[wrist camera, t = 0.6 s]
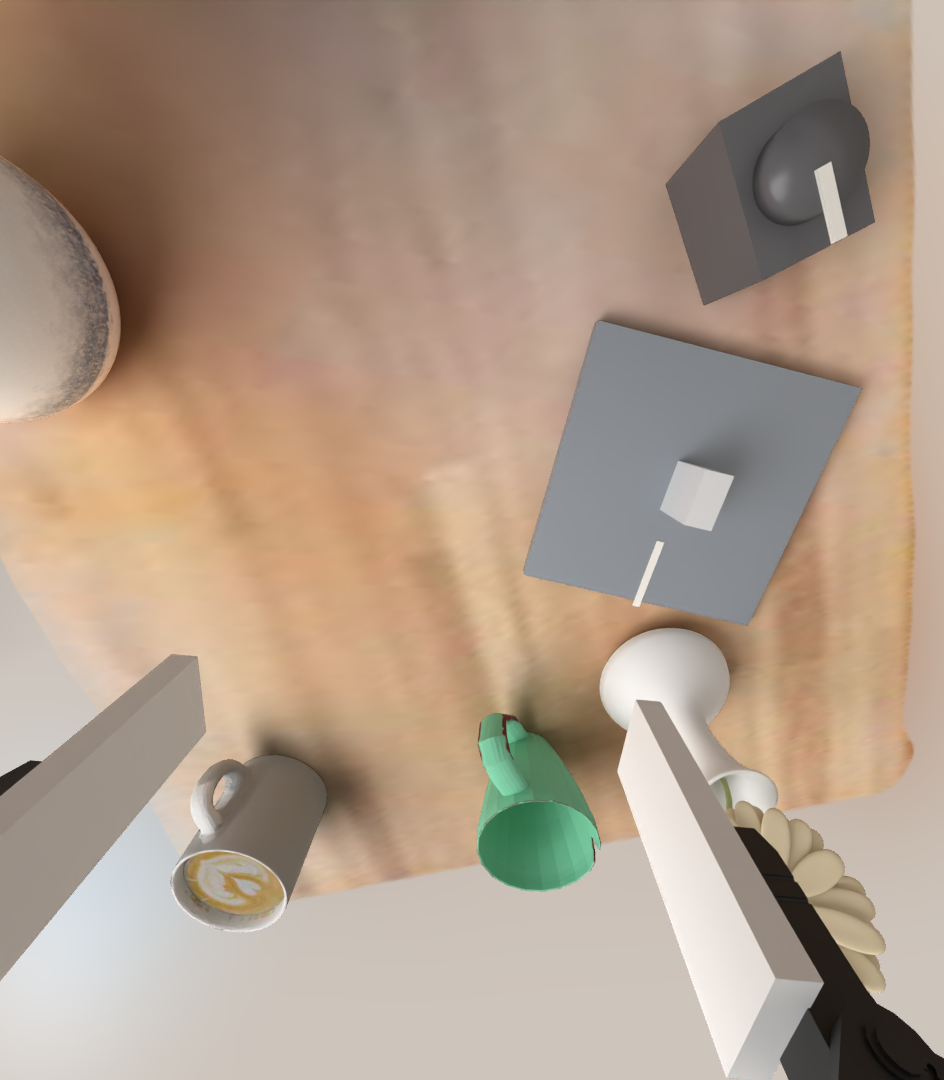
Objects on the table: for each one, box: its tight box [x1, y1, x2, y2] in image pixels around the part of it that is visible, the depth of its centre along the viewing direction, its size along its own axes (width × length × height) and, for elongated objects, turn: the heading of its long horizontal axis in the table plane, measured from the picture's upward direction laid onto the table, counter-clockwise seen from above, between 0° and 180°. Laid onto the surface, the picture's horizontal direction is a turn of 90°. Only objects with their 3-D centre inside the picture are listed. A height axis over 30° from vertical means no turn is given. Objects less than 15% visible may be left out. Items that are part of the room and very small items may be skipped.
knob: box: [666, 52, 875, 305], centre depth 26 cm, size 8×6×9 cm
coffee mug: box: [170, 755, 327, 932], centre depth 41 cm, size 13×10×10 cm
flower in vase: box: [600, 628, 886, 994], centre depth 29 cm, size 13×11×25 cm
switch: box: [523, 320, 862, 626], centre depth 33 cm, size 20×20×6 cm
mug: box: [477, 713, 601, 892], centre depth 39 cm, size 15×10×10 cm
